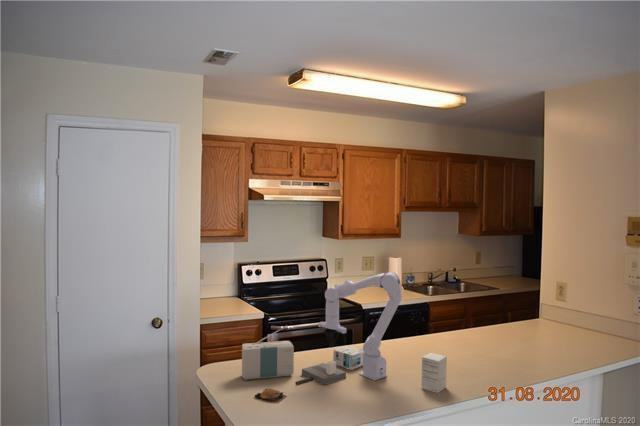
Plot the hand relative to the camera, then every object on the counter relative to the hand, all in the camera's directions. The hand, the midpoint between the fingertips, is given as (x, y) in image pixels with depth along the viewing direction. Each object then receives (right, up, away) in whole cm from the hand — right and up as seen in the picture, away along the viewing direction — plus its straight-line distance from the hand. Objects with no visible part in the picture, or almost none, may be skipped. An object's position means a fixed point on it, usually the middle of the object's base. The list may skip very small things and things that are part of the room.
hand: (331, 346), depth 208 cm
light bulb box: (+4, -7, +12) cm, 14 cm away
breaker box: (-4, -11, -6) cm, 13 cm away
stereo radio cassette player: (-27, -11, -7) cm, 30 cm away
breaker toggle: (-1, -8, -10) cm, 13 cm away
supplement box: (+40, -12, -17) cm, 45 cm away
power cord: (-11, -11, -13) cm, 20 cm away
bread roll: (-23, -12, -28) cm, 38 cm away
